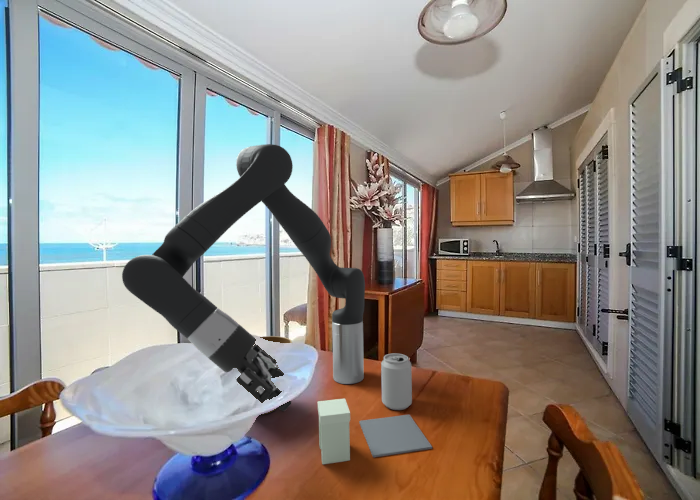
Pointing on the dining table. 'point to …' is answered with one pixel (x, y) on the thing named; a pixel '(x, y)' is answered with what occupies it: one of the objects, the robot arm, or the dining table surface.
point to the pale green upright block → (334, 430)
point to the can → (396, 381)
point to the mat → (393, 435)
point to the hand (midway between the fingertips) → (288, 395)
